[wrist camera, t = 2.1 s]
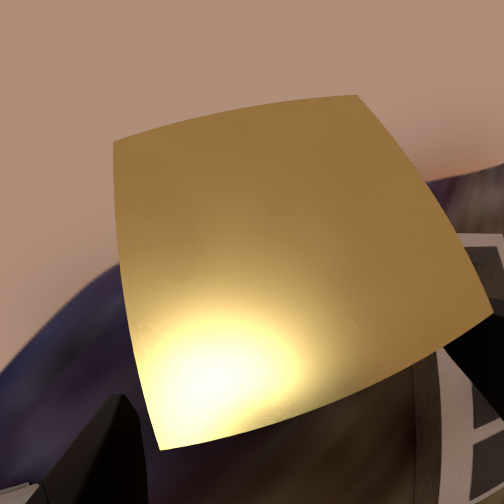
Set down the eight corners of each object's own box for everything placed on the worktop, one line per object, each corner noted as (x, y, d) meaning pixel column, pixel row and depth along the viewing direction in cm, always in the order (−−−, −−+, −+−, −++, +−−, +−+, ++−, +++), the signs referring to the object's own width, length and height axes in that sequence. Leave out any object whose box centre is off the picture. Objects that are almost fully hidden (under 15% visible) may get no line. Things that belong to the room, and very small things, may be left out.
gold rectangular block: (316, 378, 16) (493, 312, 4) (231, 405, 15) (160, 450, 3) (288, 300, 18) (357, 94, 6) (207, 324, 17) (113, 141, 5)
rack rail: (505, 465, 12) (532, 467, 9) (412, 510, 12) (436, 523, 9) (481, 252, 20) (502, 233, 17) (393, 254, 20) (412, 232, 17)
